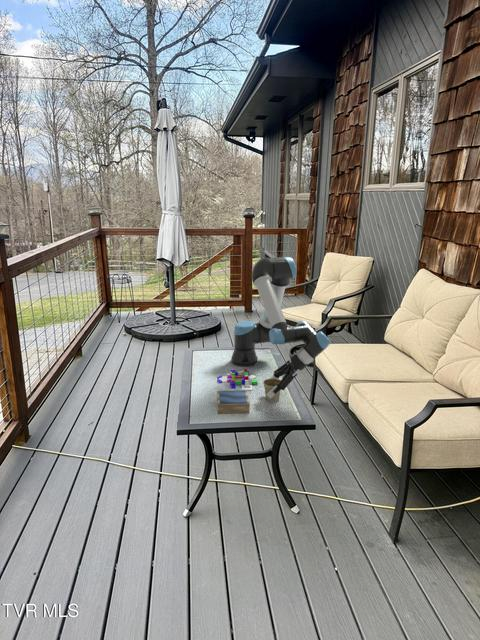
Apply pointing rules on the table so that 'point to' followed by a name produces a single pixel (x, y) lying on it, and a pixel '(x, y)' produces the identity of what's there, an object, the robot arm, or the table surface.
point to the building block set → (245, 378)
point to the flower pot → (269, 385)
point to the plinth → (233, 402)
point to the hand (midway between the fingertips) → (266, 391)
